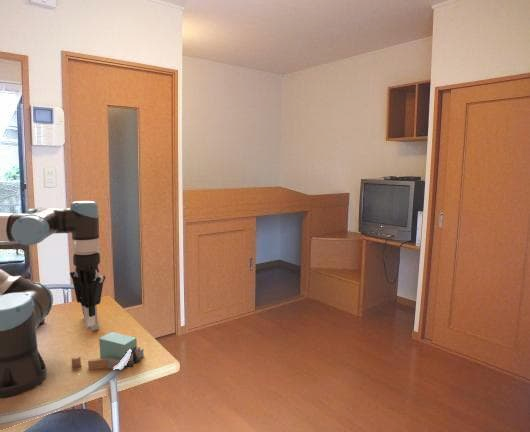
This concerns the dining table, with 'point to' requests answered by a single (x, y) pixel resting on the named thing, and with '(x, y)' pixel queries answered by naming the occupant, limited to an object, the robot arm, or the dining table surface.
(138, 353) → the bosses
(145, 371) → the dining table surface
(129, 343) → the pale green block
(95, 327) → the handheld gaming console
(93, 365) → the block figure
